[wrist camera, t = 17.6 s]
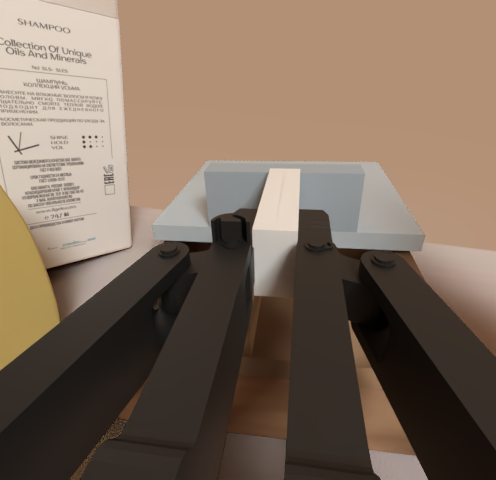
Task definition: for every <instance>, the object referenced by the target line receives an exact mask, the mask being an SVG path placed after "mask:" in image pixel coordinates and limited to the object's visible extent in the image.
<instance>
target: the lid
mask: <svg viewBox="0 0 496 480" xmlns="http://www.w3.org/2000/svg"><path fill="white" fill-rule="evenodd" d="M270 168H281V169H300V193H299V209H311V210H324V211H325V212H326V213H327V214H328V215H329V221H330V228H331V235H332V242H333V243H334V244H335V245H336V247H337V248H352V249H375V250H398V251H421V249H422V245H423V242H424V238H425V234H424V232H423V231H422V229H421V228H420V226H419V225H418V223H417V222H416V221H415V219H414V217H413V216H412V214H411V213H410V211H409V210H408V208H407V207H406V205H405V203H404V202H403V200H402V199H401V198H400V196H399V194H398V193H397V191H396V190H395V188H394V187H393V186H392V184H391V182H390V181H389V179H388V178H387V176H386V175H385V173H384V172H383V170H382V169H381V167H380V166H379V164H378V163H377V162H307V161H306V162H305V161H303V162H302V161H295V162H294V161H207V162H206V163H205V164H204V165H203V166H202V168H201V169H200V170H199V171H198V172H197V173H196V175H195V176H194V177H193V178H192V179H191V180H190V182H189V183H188V184H187V185H186V186H185V187H184V188H183V190H182V191H181V192H180V193H179V194H178V195H177V196H176V198H175V199H174V200H173V201H172V202H171V203H170V204H169V206H168V207H167V208H166V209H165V210H164V211H163V213H162V214H161V215H160V216H159V217H158V218H157V219H156V221H155V222H154V223H153V224H152V228H153V233H154V238H155V240H169V241H192V242H213V241H212V231H211V220H212V219H213V218H214V217H216V216H218V215H221V214H226V213H234V212H235V211H237V210H238V209H240V208H247V209H258V207H259V204H260V201H261V197H262V194H263V190H264V187H265V184H266V180H267V177H268V174H269V170H270Z"/></svg>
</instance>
